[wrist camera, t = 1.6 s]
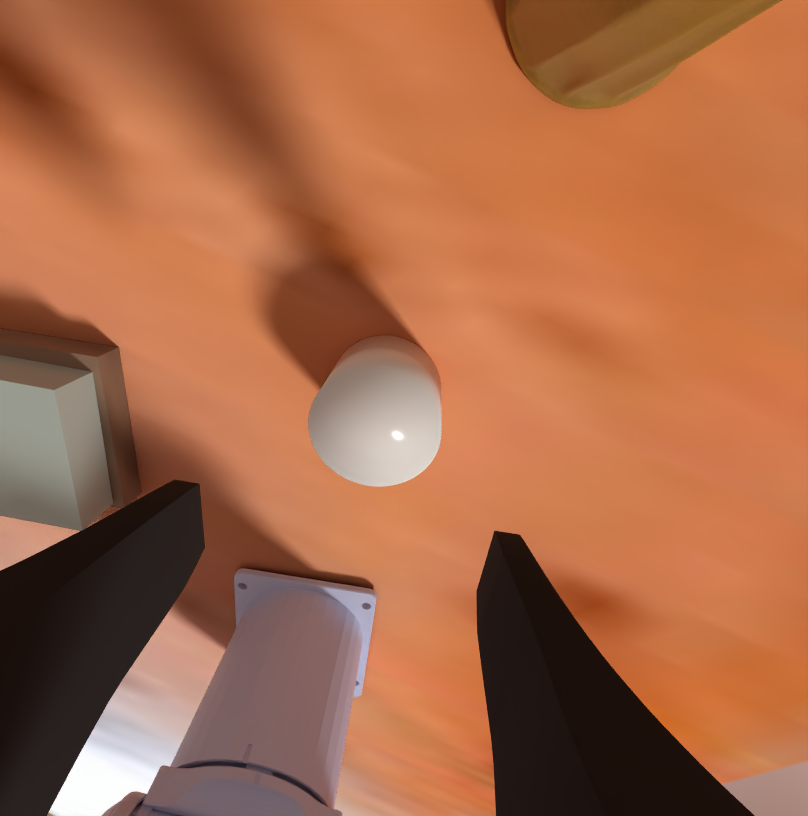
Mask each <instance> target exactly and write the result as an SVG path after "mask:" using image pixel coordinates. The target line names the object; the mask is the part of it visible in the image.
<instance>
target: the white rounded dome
mask: <svg viewBox="0 0 808 816" xmlns="http://www.w3.org/2000/svg"><path fill="white" fill-rule="evenodd" d="M308 428H309V434H310V438H311V441H312V444H313V446H314V448H315V450H316V452H317V454H318V455H319V457H320V458H321V459H322V460H323V462H324V463H325V464H326V465H327V466H328V467H329V468H330V469H332V470H333V471H334V472H336V473H337V474H339V475H340V476H342V477H344V478H346V479H348V480H350V481H352V482H355V483H358V484H363V485H367V486H392V485H396V484H400V483H403V482H406V481H408V480H410V479H412V478H414V477H416V476H417V475H419V474H420V473H421V472H422V471H424V470H425V469H426V468H427V467H428V465H429V464H430V463H431V462H432V460H433V459H434V457H435V456H436V453H437V451H438V449H439V445H440V442H441V381H440V376H439V373H438V370H437V368H436V366H435V364H434V362H433V361H432V359H431V358H430V357H429V355H428V354H427V353H426V352H425V351H424V350H423V349H422V348H420V347H419V346H417V345H416V344H414V343H412V342H411V341H409V340H406V339H403V338H400V337H396V336H389V335H379V336H373V337H369V338H365V339H363V340H361V341H359V342H357V343H355V344H354V345H352V346H351V347H350V348H348V349H347V350H346V351H345V352H344V354H343V355H342V356H341V358H340V359H339V361H338V362H337V364H336V365H335V367H334V369H333V370H332V372H331V373H330V375H329V377H328V378H327V380H326V381H325V383H324V384H323V386H322V388H321V389H320V391H319V392H318V394H317V395H316V397H315V399H314V401H313V403H312V405H311V409H310V412H309V419H308Z"/></svg>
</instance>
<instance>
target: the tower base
mask: <svg viewBox="0 0 808 816" xmlns="http://www.w3.org/2000/svg"><path fill="white" fill-rule="evenodd" d="M0 355H3V356H9V357H14V358H20V359H25V360H31V361H36V362H42V363H47V364H53V365H58V366H63V367H69V368H74V369H79V370H85V371H90V372H93V377H94V384H95V390H96V397H97V403H98V409H99V416H100V422H101V429H102V435H103V441H104V448H105V454H106V460H107V467H108V473H109V480H110V486H111V492H112V499H113V504H112V505H111V506H113V507H119V508H124V507H126V506H127V505H129V504H130V503H131V502H132V501H133V500H134V499H135V498H136V497H137V496H138V495H139V494H140V493H141V486H140V480H139V473H138V467H137V460H136V454H135V448H134V441H133V435H132V428H131V422H130V415H129V409H128V403H127V396H126V390H125V383H124V377H123V370H122V364H121V357H120V351H119V347H115V346H108V345H102V344H96V343H90V342H83V341H77V340H71V339H64V338H58V337H52V336H46V335H39V334H33V333H27V332H20V331H14V330H8V329H2V328H0Z"/></svg>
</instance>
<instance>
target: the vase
mask: <svg viewBox="0 0 808 816" xmlns="http://www.w3.org/2000/svg"><path fill="white" fill-rule="evenodd" d="M780 1H781V0H506V28H507V32H508V36H509V39H510V42H511V46H512V49H513V52H514V54H515V57H516V60H517V62H518V64H519V66H520V68H521V69H522V71H523V72H524V74H525V75H526V77H527V78H528V79H529V80H530V82H531V83H532V84H533V85H534V86H535V87H536V88H537V89H538V90H539V91H541V92H542V93H543V94H544V95H546V96H547V97H548V98H550V99H551V100H553V101H555V102H557V103H559V104H561V105H565V106H568V107H573V108H580V109H597V108H608V107H613V106H617V105H620V104H622V103H625V102H627V101H629V100H631V99H633V98H635V97H637V96H639V95H641V94H642V93H644V92H646V91H647V90H649V89H650V88H652V87H653V86H655V85H656V84H657V83H659V82H660V81H661V80H663V79H664V78H665V77H666V76H667V75H669V74H670V73H671V72H672V71H673V70H674V69H675V68H676V66H677V65H678V64H679V63H681V62H682V61H684V60H686V59H688V58H689V57H691V56H692V55H694V54H696V53H697V52H699V51H701V50H702V49H704V48H706V47H707V46H709V45H710V44H712V43H714V42H715V41H717V40H718V39H720V38H722V37H723V36H725V35H726V34H728V33H730V32H731V31H733V30H734V29H736V28H738V27H739V26H741V25H742V24H744V23H746V22H747V21H749V20H751V19H752V18H754V17H756V16H757V15H759V14H760V13H762V12H764V11H765V10H767V9H769V8H770V7H772V6H773V5H775V4H777V3H778V2H780Z"/></svg>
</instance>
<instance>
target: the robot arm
mask: <svg viewBox="0 0 808 816" xmlns="http://www.w3.org/2000/svg"><path fill="white" fill-rule="evenodd" d="M204 548H205V543H204V532H203V520H202V508H201V496H200V485H199V484H198V483H192V482H185V481H179V480H173V481H171V482H169V483H167V484H165V485H164V486H162V487H160V488H158V489H156V490H154V491H153V492H151V493H149V494H147V495H145V496H144V497H142V498H140V499H138V500H136V501H135V502H133V503H131V504H129V505H127V506H126V507H124V508H122V509H120V510H119V511H117V512H115V513H113V514H111V515H109V516H108V517H106V518H104V519H102V520H100V521H98V522H97V523H95V524H93V525H91V526H89V527H88V528H86V529H84V530H82V531H80V532H78V533H76V534H74V535H72V536H70V537H68V538H66V539H64V540H62V541H60V542H58V543H56V544H54V545H52V546H50V547H49V548H47V549H45V550H43V551H41V552H39V553H37V554H35V555H33V556H31V557H29V558H27V559H25V560H23V561H20V562H18V563H16V564H14V565H12V566H10V567H8V568H5V569H3V570H1V571H0V816H47V814H48V812H49V810H50V808H51V806H52V804H53V802H54V801H55V799H56V797H57V795H58V793H59V791H60V789H61V787H62V786H63V784H64V782H65V780H66V778H67V776H68V774H69V772H70V771H71V769H72V767H73V765H74V763H75V761H76V759H77V757H78V756H79V754H80V752H81V750H82V748H83V746H84V745H85V743H86V741H87V739H88V738H89V736H90V734H91V732H92V730H93V729H94V727H95V725H96V723H97V721H98V720H99V718H100V716H101V714H102V713H103V711H104V709H105V707H106V705H107V704H108V702H109V700H110V699H111V697H112V695H113V694H114V692H115V691H116V689H117V687H118V686H119V684H120V683H121V681H122V679H123V678H124V676H125V675H126V674H127V672H128V671H129V669H130V668H131V666H132V665H133V663H134V662H135V660H136V659H137V657H138V656H139V654H140V653H141V651H142V650H143V648H144V647H145V646H146V644H147V643H148V641H149V640H150V638H151V637H152V635H153V634H154V632H155V631H156V629H157V628H158V626H159V625H160V623H161V622H162V620H163V619H164V618H165V616H166V615H167V613H168V612H169V610H170V609H171V607H172V606H173V604H174V603H175V601H176V600H177V598H178V597H179V595H180V593H181V592H182V590H183V589H184V587H185V586H186V584H187V582H188V580H189V578H190V576H191V574H192V572H193V571H194V569H195V567H196V565H197V563H198V560H199V558H200V556H201V554H202V552H203V550H204ZM234 592H235V613H236V630H235V632H234V634H233V636H232V638H231V640H230V642H229V644H228V647H227V649H226V651H225V653H224V655H223V657H222V659H221V661H220V663H219V665H218V668H217V670H216V672H215V674H214V676H213V678H212V680H211V682H210V684H209V686H208V689H207V691H206V693H205V695H204V697H203V699H202V701H201V703H200V705H199V707H198V710H197V712H196V714H195V716H194V718H193V720H192V722H191V724H190V726H189V728H188V731H187V733H186V735H185V737H184V739H183V741H182V743H181V745H180V747H179V749H178V752H177V754H176V756H175V758H174V760H173V762H172V764H171V766H170V767H169V766H161V767H160V769H159V771H158V773H157V775H156V777H155V779H154V781H153V783H152V785H151V787H150V789H149V791H148V793H147V794H145V793H141V792H131V793H129V794H128V795H126V796H125V797H124V798H123V799H122V800H121V801H120V802H118V803H117V804H115V805H114V806H112V807H111V808H109V809H108V810H107V811H106V812H105V813H104V814H103V815H102V816H342V813H341V811H338V810H335V809H334V804H335V798H336V793H337V787H338V781H339V776H340V770H341V764H342V758H343V753H344V747H345V741H346V735H347V730H348V724H349V718H350V712H351V707H352V701H353V697H358V696H360V695H361V694H362V688H363V682H364V676H365V669H366V663H367V656H368V650H369V644H370V637H371V631H372V624H373V618H374V612H375V605H376V599H377V594H376V592H375V591H374V590H372V589H369V588H364V587H357V586H351V585H345V584H339V583H332V582H326V581H320V580H314V579H307V578H301V577H295V576H289V575H283V574H276V573H270V572H264V571H258V570H251V569H245V568H241V569H238V570H237V572H236V573H235V575H234ZM367 603H369V604H367ZM477 634H478V642H479V650H480V658H481V666H482V673H483V681H484V688H485V696H486V703H487V711H488V718H489V726H490V733H491V741H492V752H493V762H494V780H495V801H496V816H754V815H753V814H752V813H751V812H750V811H749V810H748V809H747V808H746V807H745V806H743V804H742V803H740V802H739V801H738V800H737V799H736V798H735V797H734V796H733V795H732V794H731V793H730V792H729V791H728V790H726V789H725V788H724V787H723V786H722V785H721V784H720V783H719V782H718V781H717V780H716V779H715V778H714V777H713V776H712V775H711V774H710V773H709V772H708V771H707V770H706V769H705V768H704V767H703V766H702V765H701V764H700V763H699V762H698V761H697V760H696V759H695V758H694V757H693V756H692V755H691V754H690V753H689V752H688V751H687V750H686V749H685V748H684V747H683V746H682V745H681V744H680V743H679V741H678V740H677V739H676V738H675V737H674V736H673V735H672V734H671V733H670V732H669V731H668V730H667V729H666V728H665V727H664V726H663V725H662V724H661V723H660V722H659V721H658V719H657V718H656V717H655V716H654V715H653V714H652V713H651V712H650V711H649V710H648V709H647V708H646V706H645V705H644V704H643V703H642V702H641V701H640V700H639V698H638V697H637V696H636V695H635V694H634V693H633V691H632V690H631V689H630V688H629V687H628V686H627V684H626V683H625V682H624V681H623V680H622V679H621V678H620V676H619V675H618V674H617V673H616V672H615V670H614V669H613V668H612V667H611V666H610V664H609V663H608V662H607V661H606V659H605V658H604V657H603V656H602V654H601V653H600V652H599V650H598V649H597V648H596V646H595V645H594V644H593V642H592V641H591V640H590V639H589V637H588V636H587V635H586V633H585V632H584V630H583V629H582V628H581V626H580V625H579V624H578V622H577V621H576V619H575V618H574V617H573V615H572V614H571V612H570V611H569V609H568V608H567V606H566V605H565V604H564V602H563V601H562V599H561V598H560V596H559V595H558V593H557V592H556V590H555V589H554V587H553V586H552V584H551V583H550V581H549V580H548V578H547V577H546V575H545V573H544V572H543V570H542V569H541V567H540V566H539V564H538V562H537V561H536V559H535V558H534V556H533V554H532V553H531V551H530V550H529V548H528V546H527V545H526V543H525V542H524V540H523V539H522V537H521V536H520V535H518V534H512V533H505V532H499V531H494V535H493V538H492V541H491V545H490V548H489V551H488V555H487V558H486V561H485V565H484V568H483V571H482V575H481V578H480V582H479V585H478V588H477Z"/></svg>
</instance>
